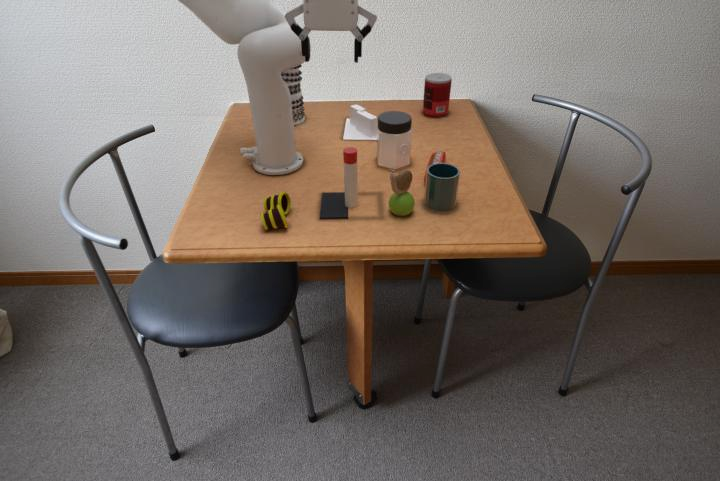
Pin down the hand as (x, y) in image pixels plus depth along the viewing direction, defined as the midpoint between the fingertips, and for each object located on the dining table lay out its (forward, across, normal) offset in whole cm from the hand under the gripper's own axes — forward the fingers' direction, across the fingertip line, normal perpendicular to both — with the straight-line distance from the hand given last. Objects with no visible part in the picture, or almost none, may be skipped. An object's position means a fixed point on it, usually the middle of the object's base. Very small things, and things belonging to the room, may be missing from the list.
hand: (332, 60), depth 94 cm
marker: (+28, -4, +10) cm, 30 cm away
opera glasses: (+29, +11, +15) cm, 34 cm away
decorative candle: (+30, +16, -38) cm, 51 cm away
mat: (+28, -4, +9) cm, 30 cm away
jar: (+29, -14, -11) cm, 34 cm away
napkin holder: (+29, -6, -32) cm, 43 cm away
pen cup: (+28, -24, +9) cm, 38 cm away
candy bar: (+28, -24, -5) cm, 38 cm away
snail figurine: (+28, -15, +13) cm, 34 cm away
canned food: (+29, -28, -43) cm, 59 cm away
